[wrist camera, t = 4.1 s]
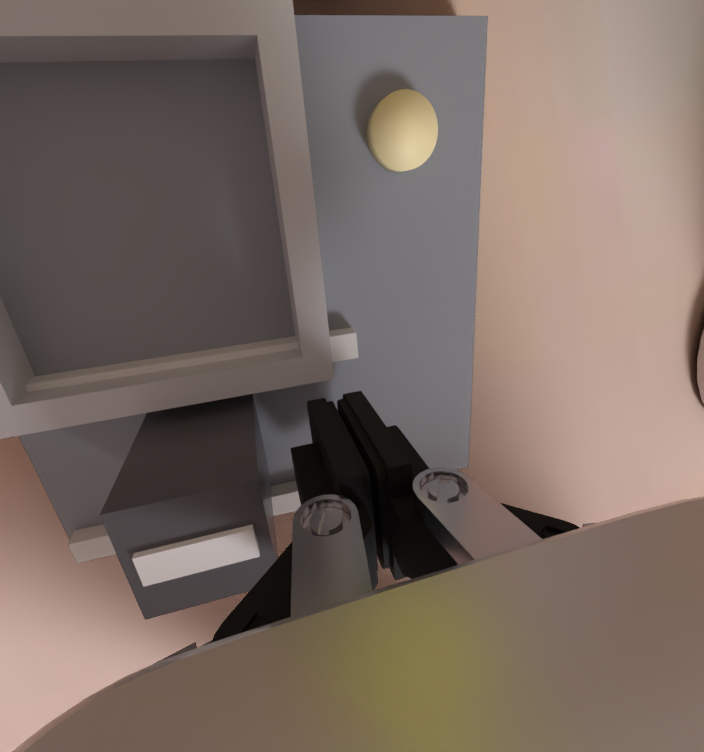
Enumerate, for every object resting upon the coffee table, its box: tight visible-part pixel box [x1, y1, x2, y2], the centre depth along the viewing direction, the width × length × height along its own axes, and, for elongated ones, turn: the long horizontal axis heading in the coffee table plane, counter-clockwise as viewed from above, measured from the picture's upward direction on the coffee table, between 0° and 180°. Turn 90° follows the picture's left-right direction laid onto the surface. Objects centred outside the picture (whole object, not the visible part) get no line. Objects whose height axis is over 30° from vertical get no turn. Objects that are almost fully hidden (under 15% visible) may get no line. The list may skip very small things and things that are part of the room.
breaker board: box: [0, 0, 488, 564], centre depth 12 cm, size 14×14×3 cm
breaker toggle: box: [100, 394, 278, 620], centre depth 10 cm, size 3×3×5 cm
